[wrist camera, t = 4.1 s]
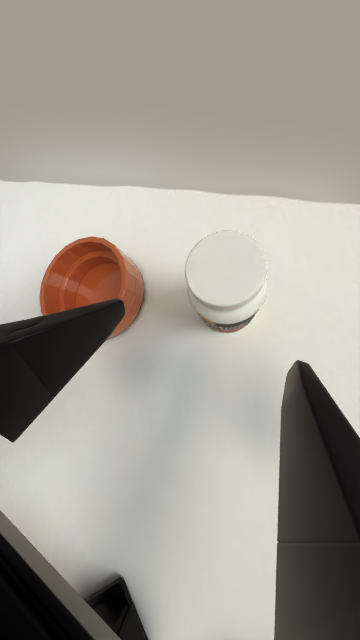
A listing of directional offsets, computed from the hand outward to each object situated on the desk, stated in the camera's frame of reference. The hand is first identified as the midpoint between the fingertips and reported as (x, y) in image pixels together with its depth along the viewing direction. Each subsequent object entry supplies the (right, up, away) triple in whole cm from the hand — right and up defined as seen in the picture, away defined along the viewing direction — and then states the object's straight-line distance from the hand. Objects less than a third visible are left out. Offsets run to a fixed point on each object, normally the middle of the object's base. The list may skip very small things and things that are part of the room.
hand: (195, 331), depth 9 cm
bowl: (-11, +4, +15) cm, 19 cm away
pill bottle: (+4, +2, +11) cm, 12 cm away
